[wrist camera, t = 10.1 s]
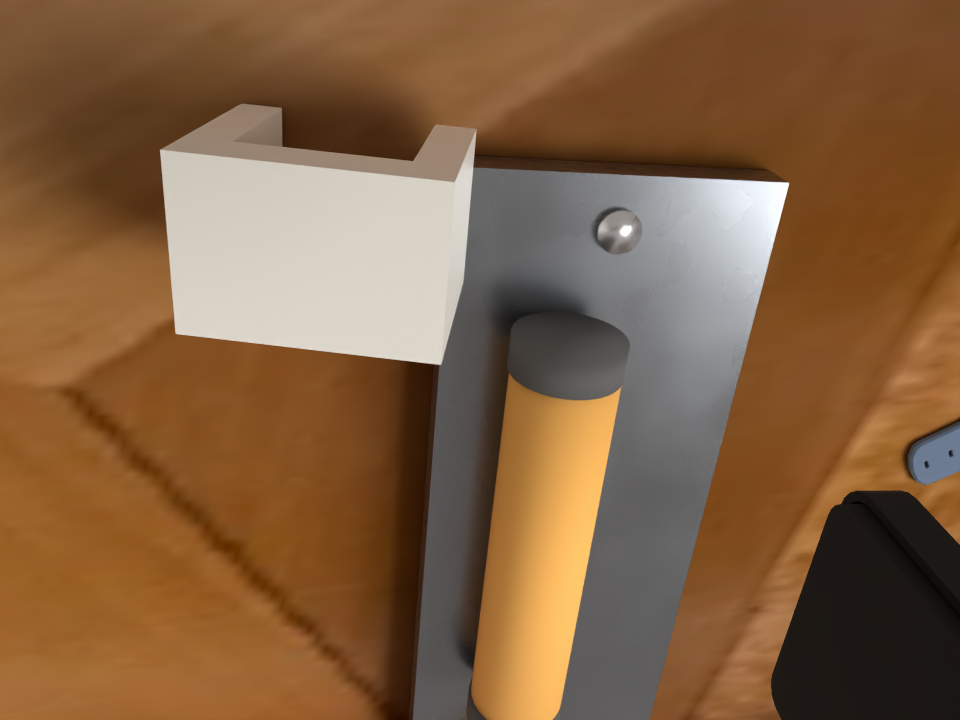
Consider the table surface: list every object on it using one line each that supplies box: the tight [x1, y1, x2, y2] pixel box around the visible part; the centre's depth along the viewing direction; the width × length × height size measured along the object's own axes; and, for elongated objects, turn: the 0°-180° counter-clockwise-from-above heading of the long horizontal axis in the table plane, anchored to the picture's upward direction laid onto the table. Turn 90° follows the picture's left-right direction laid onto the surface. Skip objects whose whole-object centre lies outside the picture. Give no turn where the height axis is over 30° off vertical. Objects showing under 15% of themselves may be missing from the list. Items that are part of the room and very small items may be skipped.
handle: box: [466, 312, 630, 720], centre depth 25 cm, size 14×3×3 cm
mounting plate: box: [408, 155, 789, 720], centre depth 27 cm, size 22×9×1 cm, turn 175°
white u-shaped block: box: [160, 104, 476, 365], centre depth 20 cm, size 4×6×5 cm
